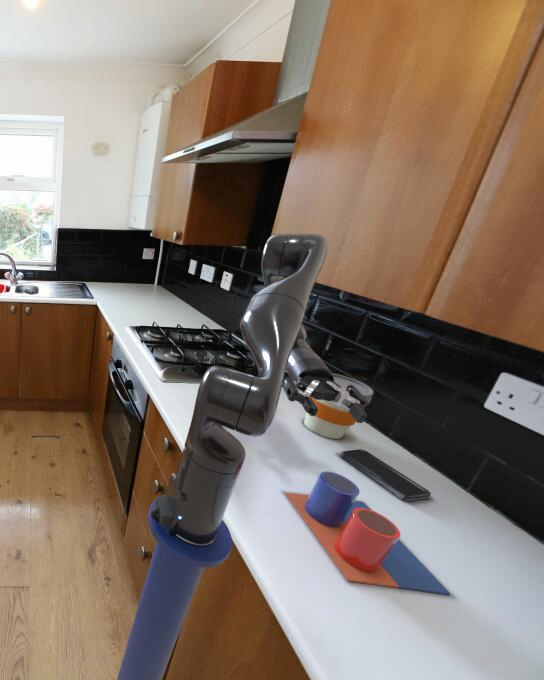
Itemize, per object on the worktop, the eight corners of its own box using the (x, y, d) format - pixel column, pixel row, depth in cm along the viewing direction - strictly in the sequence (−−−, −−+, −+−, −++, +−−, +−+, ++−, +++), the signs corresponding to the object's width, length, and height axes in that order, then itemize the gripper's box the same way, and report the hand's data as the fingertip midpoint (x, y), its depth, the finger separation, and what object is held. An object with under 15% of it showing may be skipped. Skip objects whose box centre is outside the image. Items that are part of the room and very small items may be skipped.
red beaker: (349, 570, 61) (371, 535, 58) (326, 538, 67) (344, 505, 63) (387, 575, 61) (411, 540, 57) (360, 542, 66) (380, 509, 63)
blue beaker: (316, 525, 69) (333, 493, 66) (297, 500, 75) (312, 469, 72) (349, 529, 69) (368, 497, 66) (328, 503, 75) (344, 473, 71)
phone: (363, 448, 91) (434, 494, 78) (361, 452, 92) (431, 497, 78) (339, 451, 90) (407, 498, 76) (337, 455, 90) (405, 502, 77)
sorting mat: (348, 581, 60) (349, 579, 59) (285, 493, 77) (286, 492, 77) (449, 595, 58) (450, 593, 58) (362, 503, 76) (363, 501, 76)
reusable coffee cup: (360, 437, 98) (385, 391, 92) (333, 446, 93) (357, 399, 88) (313, 412, 109) (333, 370, 103) (287, 419, 104) (305, 375, 98)
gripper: (279, 353, 85) (306, 397, 71) (347, 361, 82) (388, 408, 68) (268, 377, 89) (292, 423, 75) (332, 385, 86) (369, 435, 73)
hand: (338, 416), depth 72 cm, fingers open, 8 cm apart
